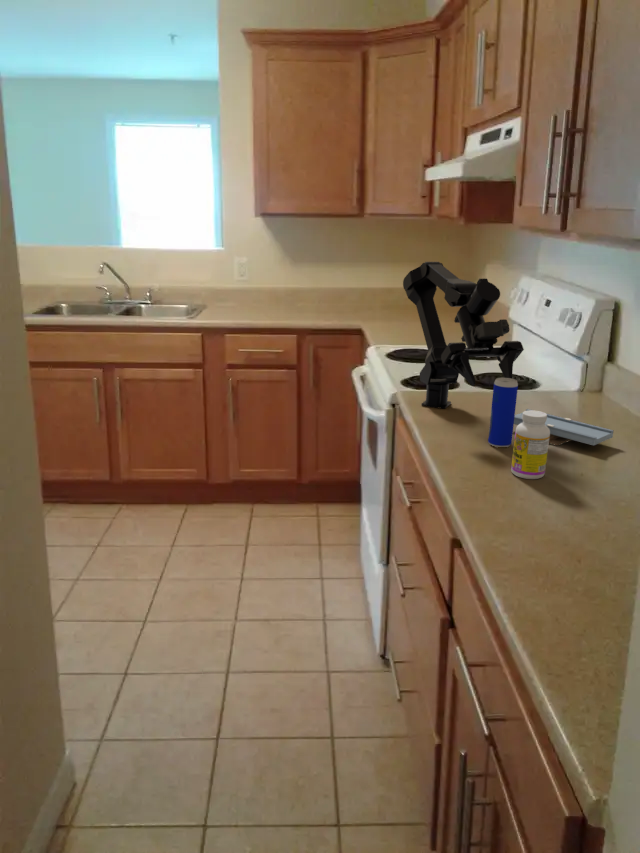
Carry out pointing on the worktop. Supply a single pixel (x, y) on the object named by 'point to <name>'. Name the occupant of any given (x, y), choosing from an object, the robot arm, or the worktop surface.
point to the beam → (573, 429)
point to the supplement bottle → (531, 446)
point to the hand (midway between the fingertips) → (492, 384)
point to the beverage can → (503, 412)
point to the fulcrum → (557, 439)
